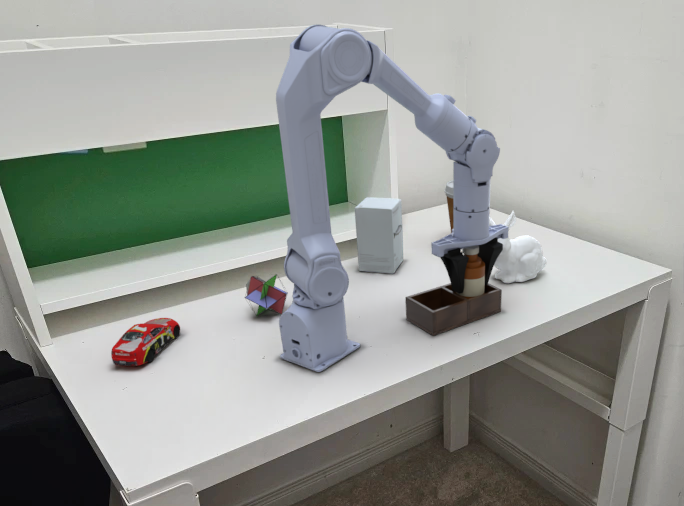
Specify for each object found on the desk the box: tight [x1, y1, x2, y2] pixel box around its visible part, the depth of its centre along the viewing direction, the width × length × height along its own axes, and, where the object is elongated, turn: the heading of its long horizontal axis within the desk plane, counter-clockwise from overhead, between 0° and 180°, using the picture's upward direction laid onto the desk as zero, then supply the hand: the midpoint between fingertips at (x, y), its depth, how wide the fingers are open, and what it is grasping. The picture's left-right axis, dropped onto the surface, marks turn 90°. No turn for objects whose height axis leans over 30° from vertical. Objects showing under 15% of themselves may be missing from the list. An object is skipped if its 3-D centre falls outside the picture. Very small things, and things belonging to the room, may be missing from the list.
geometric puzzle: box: [243, 273, 289, 318], centre depth 110 cm, size 7×7×8 cm
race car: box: [110, 317, 181, 367], centre depth 100 cm, size 13×5×4 cm, turn 170°
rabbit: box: [489, 210, 548, 284], centre depth 123 cm, size 12×9×12 cm
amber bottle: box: [456, 245, 485, 299], centre depth 109 cm, size 5×5×10 cm
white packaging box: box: [354, 196, 404, 275], centre depth 126 cm, size 7×7×13 cm
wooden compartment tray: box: [405, 282, 503, 337], centre depth 110 cm, size 14×8×4 cm, turn 128°
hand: (470, 287), depth 110 cm, fingers closed on amber bottle, 5 cm apart
